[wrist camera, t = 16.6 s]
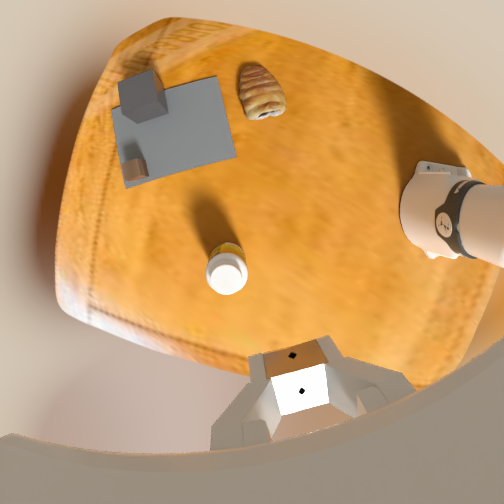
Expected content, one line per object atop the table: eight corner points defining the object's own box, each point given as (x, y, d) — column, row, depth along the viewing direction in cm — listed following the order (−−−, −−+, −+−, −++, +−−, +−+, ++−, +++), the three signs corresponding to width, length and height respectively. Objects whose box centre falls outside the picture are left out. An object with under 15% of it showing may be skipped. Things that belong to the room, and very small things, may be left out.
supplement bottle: (219, 235, 43) (215, 249, 33) (251, 251, 44) (257, 270, 34) (204, 266, 44) (196, 289, 34) (235, 281, 45) (236, 307, 35)
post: (145, 160, 39) (137, 158, 35) (149, 176, 39) (140, 175, 36) (130, 165, 39) (121, 163, 35) (134, 181, 39) (124, 180, 36)
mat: (217, 77, 37) (216, 76, 37) (236, 157, 40) (236, 157, 40) (112, 110, 37) (111, 109, 36) (126, 188, 40) (125, 188, 40)
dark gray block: (163, 85, 35) (152, 69, 29) (168, 113, 37) (158, 100, 30) (132, 95, 35) (117, 82, 29) (137, 124, 36) (121, 113, 30)
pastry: (230, 74, 37) (230, 64, 33) (270, 65, 37) (273, 55, 34) (247, 124, 39) (249, 118, 36) (288, 114, 39) (294, 107, 36)
